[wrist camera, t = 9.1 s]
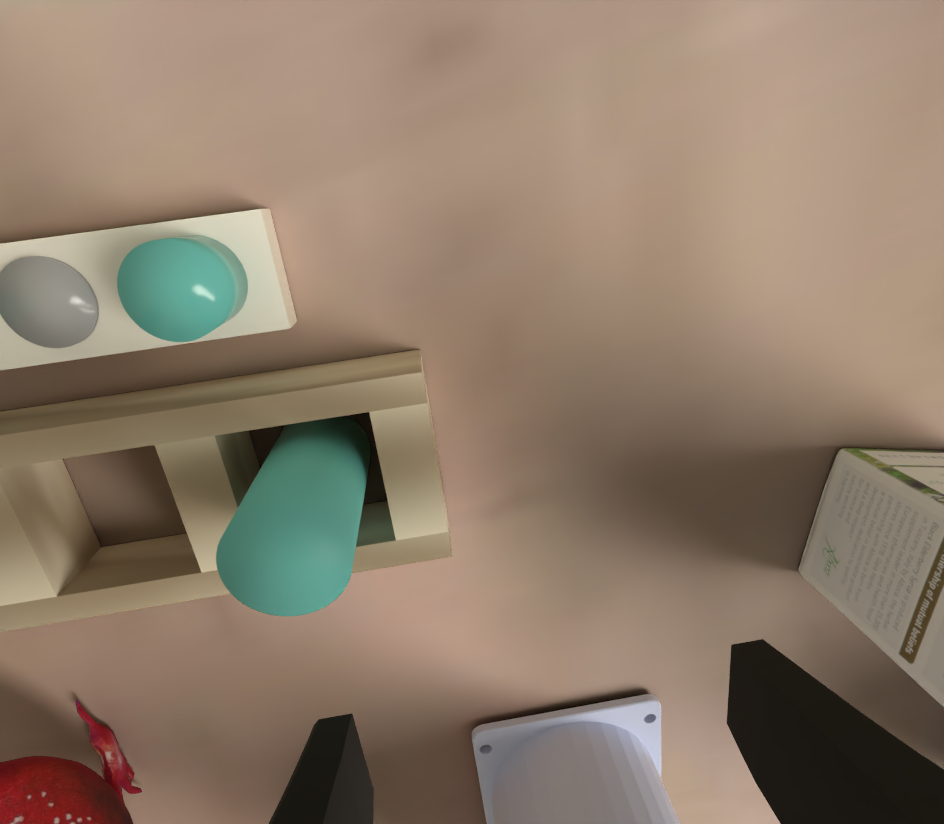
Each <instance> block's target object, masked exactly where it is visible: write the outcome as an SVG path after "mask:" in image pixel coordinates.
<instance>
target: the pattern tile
mask: <svg viewBox="0 0 944 824" xmlns="http://www.w3.org/2000/svg"><path fill="white" fill-rule="evenodd" d="M296 322H297V319H296V315H295V310H294V306H293V302H292V298H291V294H290V290H289V286H288V282H287V278H286V273H285V269H284V265H283V261H282V257H281V253H280V249H279V245H278V241H277V237H276V232H275V228H274V224H273V220H272V216H271V212H270V209H256V210H249V211H241V212H234V213H226V214H219V215H211V216H204V217H196V218H189V219H182V220H174V221H167V222H159V223H152V224H144V225H137V226H129V227H122V228H114V229H107V230H99V231H92V232H84V233H77V234H69V235H62V236H54V237H47V238H39V239H32V240H24V241H17V242H10V243H2V244H0V371H1V370H8V369H15V368H21V367H28V366H35V365H42V364H49V363H56V362H63V361H70V360H77V359H84V358H90V357H97V356H104V355H111V354H118V353H125V352H132V351H139V350H146V349H153V348H159V347H166V346H173V345H180V344H187V343H194V342H201V341H208V340H215V339H222V338H228V337H235V336H242V335H249V334H256V333H263V332H270V331H277V330H284V329H290V328H291V327H292V326H293V325H294V324H295V323H296Z"/></svg>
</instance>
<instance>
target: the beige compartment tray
mask: <svg viewBox="0 0 944 824" xmlns="http://www.w3.org/2000/svg"><path fill="white" fill-rule="evenodd" d="M366 412H369V414H370V418H371V423H372V428H373V433H374V438H375V442H376V447H377V452H378V457H379V462H380V466H381V471H382V476H383V481H384V486H385V490H386V495H387V500H388V501H384V502H377V503H371V504H365V505H363V507H362V513H361V519H360V525H359V531H358V537H357V543H356V549H355V555H354V561H353V567H352V573H356V572H362V571H368V570H374V569H380V568H386V567H392V566H398V565H404V564H410V563H416V562H422V561H428V560H434V559H440V558H446V557H452V549H451V540H450V531H449V523H448V514H447V508H446V502H445V496H444V490H443V484H442V477H441V471H440V465H439V459H438V453H437V447H436V441H435V435H434V429H433V423H432V417H431V411H430V405H429V398H428V392H427V386H426V380H425V374H424V368H423V362H422V356H421V350H420V349H419V350H413V351H406V352H399V353H393V354H386V355H379V356H372V357H366V358H359V359H352V360H345V361H339V362H332V363H325V364H318V365H312V366H305V367H298V368H292V369H285V370H278V371H271V372H265V373H258V374H251V375H244V376H238V377H231V378H224V379H218V380H211V381H204V382H197V383H191V384H184V385H177V386H170V387H164V388H157V389H150V390H143V391H137V392H130V393H123V394H117V395H110V396H103V397H96V398H90V399H83V400H76V401H69V402H63V403H56V404H49V405H43V406H36V407H29V408H22V409H16V410H9V411H2V412H0V632H5V631H11V630H17V629H23V628H29V627H35V626H41V625H47V624H53V623H59V622H65V621H71V620H77V619H83V618H89V617H95V616H101V615H107V614H112V613H118V612H124V611H130V610H136V609H142V608H148V607H154V606H160V605H166V604H172V603H178V602H184V601H190V600H196V599H202V598H208V597H214V596H220V595H225V594H231V593H230V592H229V591H228V589H227V588H226V587H225V585H224V584H223V582H222V580H221V578H220V576H219V573H218V570H217V564H216V552H217V547H218V544H219V541H220V539H221V537H222V535H223V533H224V532H225V530H226V528H227V526H228V525H229V523H230V521H231V519H232V518H233V516H234V514H235V512H236V511H237V509H238V507H239V505H240V504H241V502H242V500H243V498H244V497H245V495H246V493H247V491H248V490H249V488H250V486H251V484H252V483H253V481H254V479H255V477H256V476H257V474H258V472H259V470H260V466H259V463H258V460H257V456H256V453H255V450H254V446H253V443H252V440H251V436H250V433H249V430H255V429H262V428H268V427H275V426H281V425H288V424H294V423H301V422H307V421H314V420H320V419H327V418H333V417H340V416H346V415H353V414H359V413H366ZM151 445H155V448H156V451H157V453H158V456H159V459H160V461H161V464H162V467H163V470H164V472H165V475H166V478H167V480H168V483H169V486H170V488H171V491H172V494H173V497H174V499H175V502H176V505H177V507H178V510H179V513H180V516H181V518H182V521H183V524H184V526H185V529H186V532H187V533H186V534H180V535H174V536H167V537H161V538H155V539H149V540H143V541H137V542H130V543H124V544H118V545H112V546H106V547H101V546H100V543H99V541H98V539H97V537H96V534H95V532H94V530H93V528H92V525H91V523H90V521H89V518H88V516H87V514H86V512H85V509H84V507H83V505H82V503H81V500H80V498H79V496H78V494H77V491H76V489H75V487H74V484H73V482H72V480H71V478H70V475H69V473H68V471H67V469H66V466H65V464H64V462H63V460H62V459H66V458H73V457H80V456H86V455H93V454H99V453H106V452H112V451H119V450H125V449H132V448H138V447H145V446H151Z"/></svg>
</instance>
